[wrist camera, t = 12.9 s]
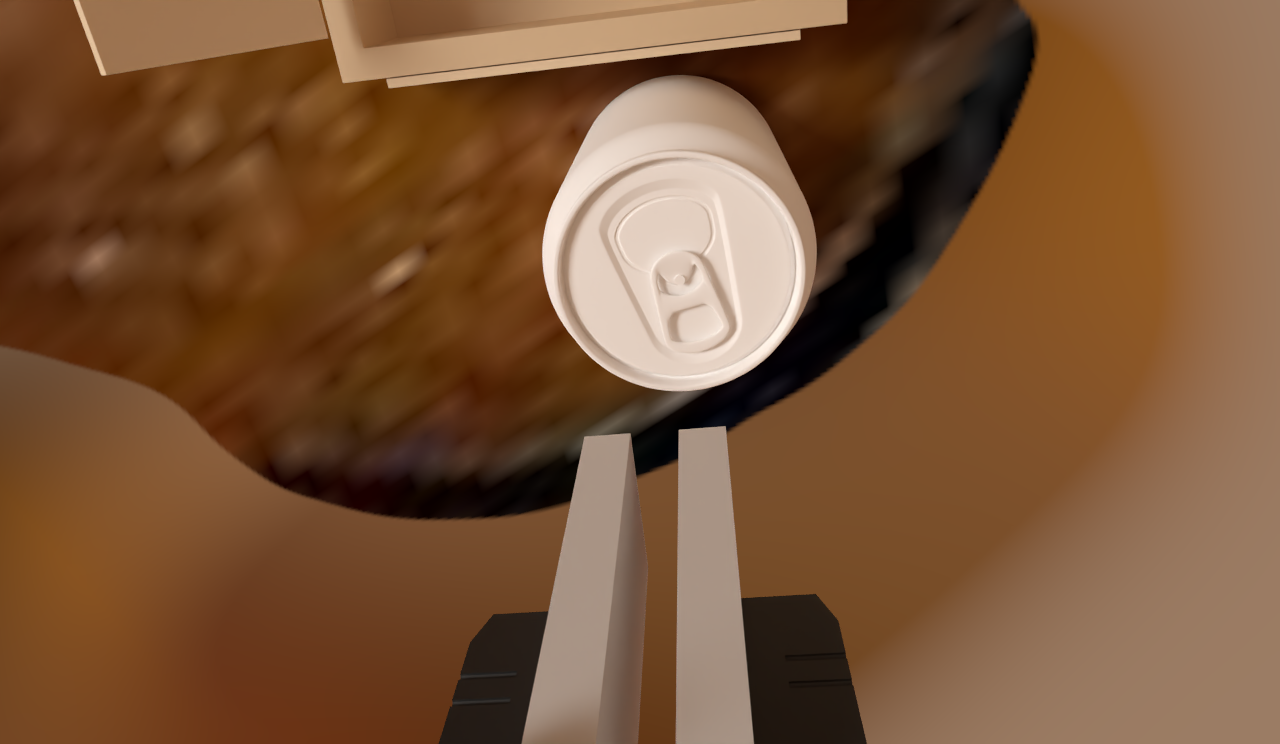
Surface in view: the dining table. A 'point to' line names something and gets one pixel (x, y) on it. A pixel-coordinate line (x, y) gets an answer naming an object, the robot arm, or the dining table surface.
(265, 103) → the dining table surface
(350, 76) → the carton
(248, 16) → the flap
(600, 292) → the beverage can
